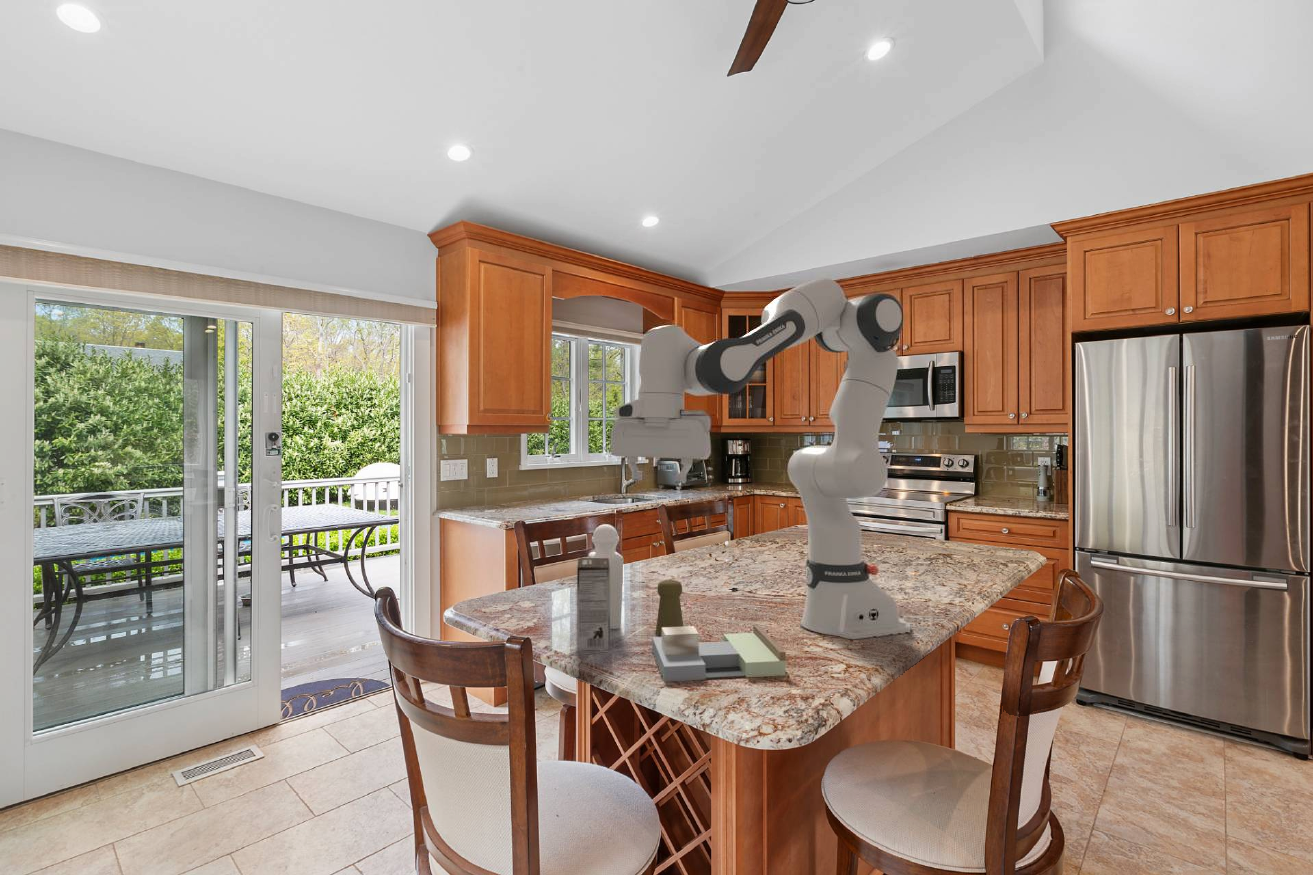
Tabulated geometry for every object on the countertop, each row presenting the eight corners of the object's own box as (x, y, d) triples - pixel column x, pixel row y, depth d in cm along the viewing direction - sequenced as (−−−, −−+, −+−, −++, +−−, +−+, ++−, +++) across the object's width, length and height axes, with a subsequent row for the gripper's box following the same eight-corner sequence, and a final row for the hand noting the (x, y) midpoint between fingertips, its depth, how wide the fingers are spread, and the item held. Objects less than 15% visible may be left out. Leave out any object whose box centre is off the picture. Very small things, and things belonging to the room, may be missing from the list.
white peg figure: (623, 628, 136) (623, 525, 136) (593, 631, 134) (593, 526, 134) (616, 620, 143) (616, 521, 143) (587, 623, 141) (587, 523, 141)
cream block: (693, 645, 118) (693, 626, 118) (698, 653, 114) (698, 633, 114) (661, 646, 117) (661, 627, 117) (665, 654, 113) (665, 634, 113)
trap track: (758, 645, 126) (758, 624, 126) (785, 675, 110) (785, 651, 110) (652, 650, 123) (652, 629, 123) (664, 681, 107) (664, 657, 107)
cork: (681, 638, 130) (681, 584, 130) (652, 636, 131) (652, 583, 131) (686, 629, 136) (686, 578, 136) (658, 628, 137) (658, 576, 137)
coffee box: (578, 636, 132) (578, 557, 131) (609, 635, 132) (609, 557, 132) (576, 650, 122) (576, 566, 122) (609, 649, 123) (609, 565, 123)
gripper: (717, 411, 121) (715, 484, 121) (623, 410, 130) (621, 478, 130) (704, 408, 116) (702, 485, 115) (607, 408, 125) (605, 479, 125)
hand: (658, 481), depth 123 cm, fingers open, 8 cm apart
